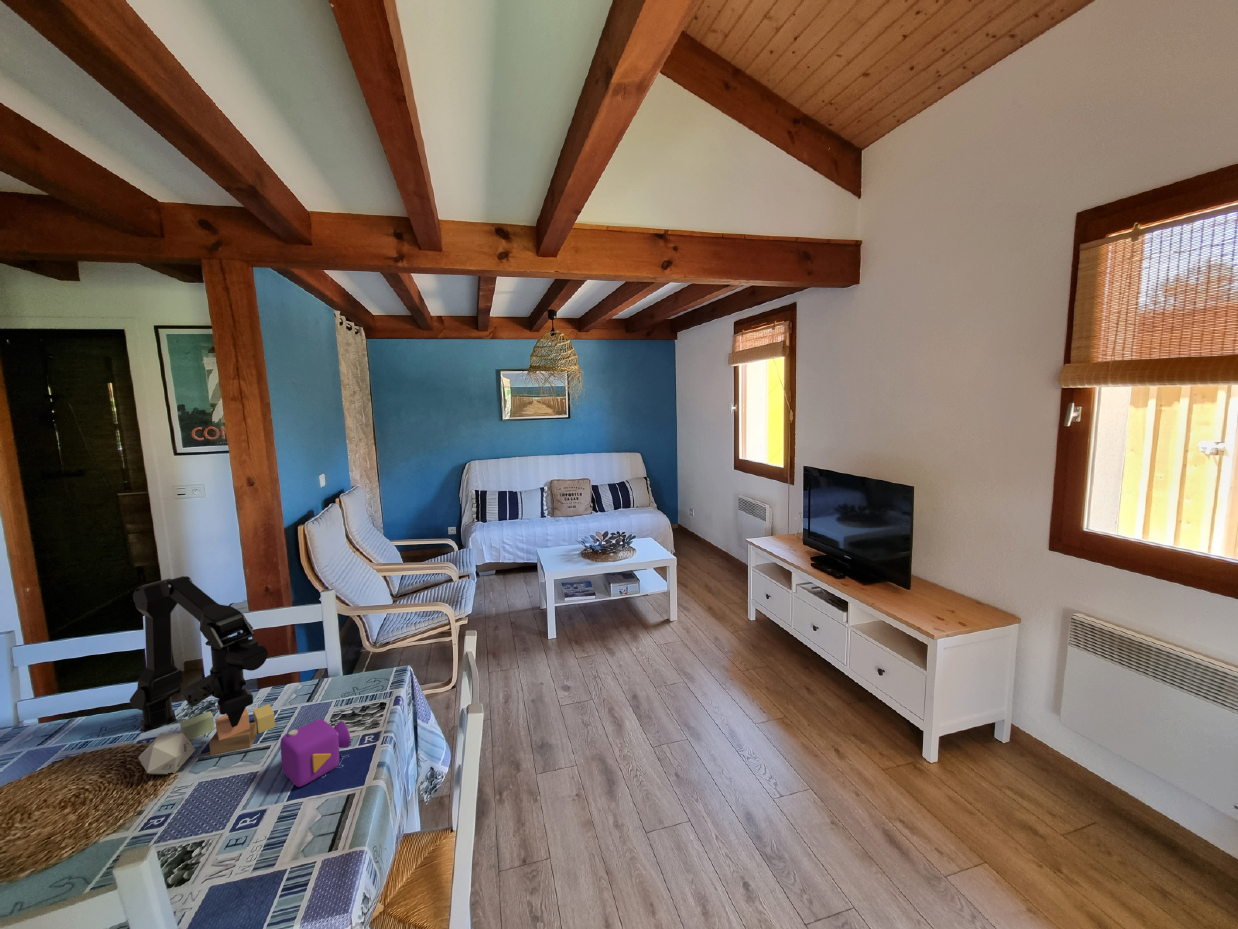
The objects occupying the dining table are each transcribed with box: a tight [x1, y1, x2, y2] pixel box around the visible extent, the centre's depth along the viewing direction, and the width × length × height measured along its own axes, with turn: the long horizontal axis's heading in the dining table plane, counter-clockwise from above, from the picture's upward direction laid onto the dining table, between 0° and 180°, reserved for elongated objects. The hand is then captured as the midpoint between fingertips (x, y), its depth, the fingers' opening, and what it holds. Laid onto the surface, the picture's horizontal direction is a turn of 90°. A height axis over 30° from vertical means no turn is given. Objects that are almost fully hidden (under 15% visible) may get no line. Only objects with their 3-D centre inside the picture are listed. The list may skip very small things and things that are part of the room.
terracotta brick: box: [215, 707, 250, 740], centre depth 119 cm, size 4×6×4 cm, turn 137°
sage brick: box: [179, 710, 215, 741], centre depth 124 cm, size 4×6×4 cm, turn 140°
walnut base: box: [209, 721, 258, 757], centre depth 119 cm, size 5×8×4 cm, turn 111°
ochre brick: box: [252, 703, 276, 734], centre depth 127 cm, size 4×6×4 cm, turn 46°
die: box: [138, 732, 196, 775], centre depth 111 cm, size 8×9×10 cm
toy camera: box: [280, 718, 351, 788], centre depth 112 cm, size 11×14×10 cm
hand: (232, 722), depth 119 cm, fingers open, 5 cm apart
